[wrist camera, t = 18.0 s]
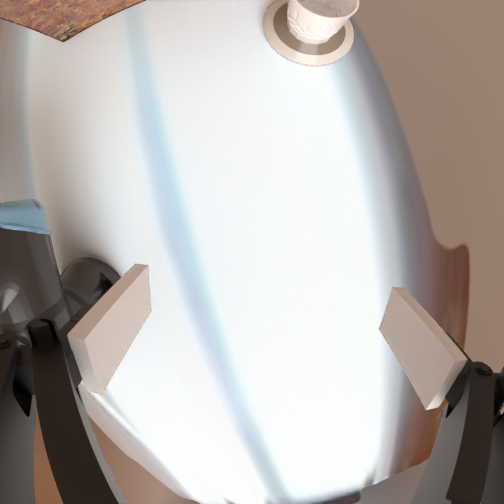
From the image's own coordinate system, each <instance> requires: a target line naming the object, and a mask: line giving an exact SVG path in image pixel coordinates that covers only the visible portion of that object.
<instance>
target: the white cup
mask: <svg viewBox="0 0 504 504" xmlns="http://www.w3.org/2000/svg"><path fill="white" fill-rule="evenodd" d="M358 7H359V0H288V9H287V26H288V29H289V32H290V33H291V34H292V35H293V36H294V37H295V38H296V39H298V40H300V41H302V42H304V43H307V44H316V45H318V44H321V43H325V42H327V41H328V40H329V39H330V38H331V37H332V36H333V35H334V34H336V33H337V32H338V31H339V30H340V29H341V27H342V26H343V25H344V24H345V23H346V22H347V21H348V20H349V19H350V17H351V16H352V15H353V14H354V13H355V12H356V11H357V9H358Z"/></svg>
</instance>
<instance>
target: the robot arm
mask: <svg viewBox="0 0 504 504" xmlns="http://www.w3.org/2000/svg"><path fill="white" fill-rule="evenodd" d="M50 235H51V232H50V230H49V228H48V225H47V221H46V216H45V212H44V208H43V206H42V205H41V203H40V202H38V201H36V200H33V199H30V200H19V201H12V202H5V203H0V504H35V495H34V479H33V477H34V476H33V449H34V448H33V447H34V429H35V417H36V407H37V410H38V415H39V421H40V426H41V431H42V435H43V440H44V444H45V448H46V452H47V456H48V459H49V463H50V466H51V470H52V473H53V476H54V479H55V482H56V485H57V487H58V490H59V493H60V496H61V498H62V501H63V504H128V502H127V500H126V498H125V496H124V495H123V493H122V491H121V489H120V487H119V486H118V484H117V482H116V480H115V478H114V476H113V474H112V472H111V470H110V468H109V466H108V464H107V462H106V459H105V457H104V455H103V453H102V450H101V448H100V446H99V443H98V441H97V439H96V436H95V434H94V431H93V429H92V426H91V424H90V421H89V418H88V415H87V412H86V409H85V406H84V403H83V400H82V397H81V394H80V391H79V389H78V385H79V384H80V382H81V381H82V382H83V384H84V387H85V389H86V390H87V391H90V392H93V393H97V394H100V395H102V394H103V392H104V391H105V389H106V387H107V385H108V383H109V382H110V380H111V378H112V376H113V375H114V373H115V371H116V369H117V368H118V366H119V364H120V362H121V361H122V359H123V357H124V355H125V354H126V352H127V350H128V349H129V347H130V345H131V344H132V342H133V340H134V339H135V337H136V335H137V334H138V332H139V330H140V329H141V327H142V325H143V324H144V322H145V320H146V319H147V317H148V316H149V314H150V312H151V300H150V285H149V265H142V264H134V265H133V266H132V267H131V268H130V269H129V270H128V271H127V272H126V273H125V274H124V275H123V276H122V277H121V278H120V276H119V275H118V274H117V273H116V272H115V271H114V270H113V269H112V268H111V267H109V266H108V265H106V264H105V263H103V262H101V261H99V260H96V259H92V258H82V259H78V260H76V261H74V262H73V263H71V264H70V265H69V266H67V267H66V268H65V269H64V270H63V272H62V273H61V275H60V274H59V271H58V267H57V263H56V260H55V255H54V251H53V247H52V242H51V237H50ZM379 330H380V331H381V333H382V335H383V336H384V338H385V340H386V341H387V343H388V344H389V346H390V348H391V349H392V351H393V353H394V354H395V356H396V358H397V359H398V361H399V363H400V365H401V366H402V368H403V370H404V371H405V373H406V375H407V377H408V378H409V380H410V382H411V384H412V385H413V387H414V389H415V391H416V393H417V394H418V396H419V398H420V400H421V402H422V404H423V406H424V407H425V409H426V410H428V409H432V408H437V407H439V406H440V404H441V403H442V401H443V400H444V398H446V399H447V401H448V403H447V405H446V406H445V408H444V409H443V410H442V412H441V413H440V415H439V416H438V417H437V419H436V420H439V419H440V417H442V419H441V423H440V427H439V430H438V433H437V437H436V440H435V443H434V446H433V449H432V452H431V455H430V458H429V461H428V464H427V466H426V469H425V471H424V474H423V477H422V479H421V481H420V484H419V486H418V489H417V491H416V493H415V495H414V497H413V500H412V502H411V504H480V503H481V504H504V413H503V414H502V415H501V413H500V410H501V409H502V408H503V406H504V367H503V369H502V371H501V372H500V373H493V371H492V369H491V368H490V367H489V366H487V365H486V364H484V363H482V362H474V363H473V362H472V360H471V359H470V358H469V357H468V356H467V354H466V353H465V352H464V351H463V350H462V349H461V347H460V348H459V345H458V344H457V343H455V340H454V339H453V338H452V337H451V336H450V335H449V334H448V333H446V332H445V331H443V330H442V329H441V327H440V326H439V325H438V324H437V323H436V322H435V321H434V320H433V318H432V317H431V316H430V315H429V314H428V313H427V312H426V311H425V310H424V309H423V308H422V307H421V306H420V304H419V303H418V302H417V301H416V300H415V299H414V298H413V297H412V296H411V295H410V294H409V293H408V292H407V291H406V290H405V289H404V288H398V287H392V291H391V294H390V297H389V300H388V304H387V307H386V310H385V313H384V316H383V319H382V322H381V325H380V327H379Z"/></svg>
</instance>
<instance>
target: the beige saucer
mask: <svg viewBox="0 0 504 504" xmlns="http://www.w3.org/2000/svg"><path fill="white" fill-rule="evenodd" d="M287 9H288V0H276V1H275V2H274V3H272V4H271V5H270V7H269V8H268V9H267V11H266V13H265V17H264V34H265V37H266V39H267V41H268V43H269V44H270V46H271V47H272V48H273V49H274V50H275V51H276V52H277V53H278V54H280V55H281V56H282V57H284V58H286V59H288V60H290V61H292V62H294V63H297V64H300V65H305V66H325V65H329V64H332V63H334V62H336V61H338V60H339V59H341V58H342V57H343V56H344V55H345V54H346V53H347V52H348V51H349V49H350V48H351V46H352V43H353V40H354V30H353V26H352V24H351V21H350V19H349V20H348V21H347V22H346V23H345V24H344V25H343V26H342V27H341V29H340V30H339V31H338V32H337V33H336V34H334V35H333V36H332V37H331V38H330V39H329V40H328V41H327V42H325V43H321V44H318V45H316V44H307V43H304V42H302V41H300V40H298V39H296V38H295V37H294V36H293V35H292V34H291V33H290V32H289V29H288V26H287Z"/></svg>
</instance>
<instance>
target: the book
mask: <svg viewBox="0 0 504 504" xmlns="http://www.w3.org/2000/svg"><path fill="white" fill-rule="evenodd" d="M143 1H146V0H0V18H1V19H4V20H7V21H10V22H13V23H16V24H19V25H22V26H24V27H27V28H30V29H32V30H35V31H37V32H40V33H42V34H45V35H47V36H50V37H52V38H54V39H57V40H59V41H61V42H65V41H67V40H68V39H70V38H71V37H73V36H75V35H76V34H78V33H80V32H81V31H83V30H85V29H87V28H88V27H90V26H92V25H94V24H96V23H98V22H99V21H101V20H103V19H105V18H107V17H109V16H111V15H113V14H115V13H118V12H120V11H122V10H124V9H126V8H129V7H131V6H133V5H136V4H138V3H140V2H143Z"/></svg>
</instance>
